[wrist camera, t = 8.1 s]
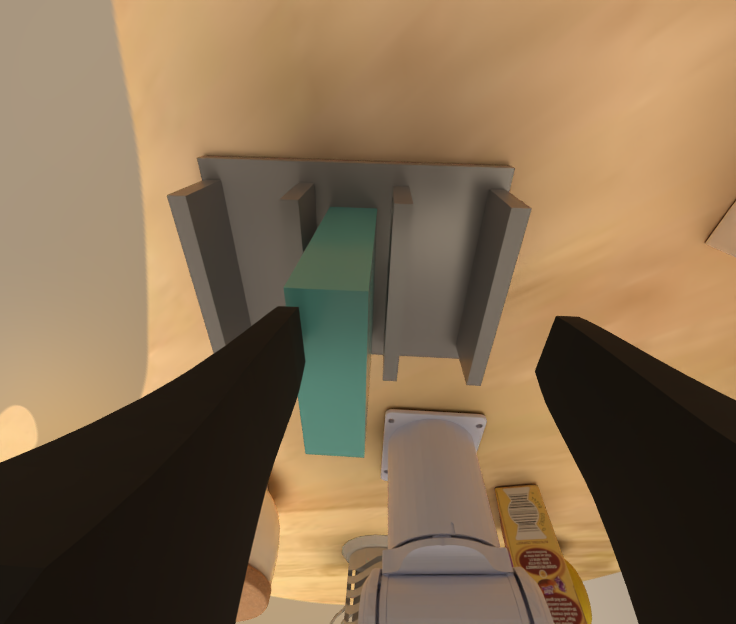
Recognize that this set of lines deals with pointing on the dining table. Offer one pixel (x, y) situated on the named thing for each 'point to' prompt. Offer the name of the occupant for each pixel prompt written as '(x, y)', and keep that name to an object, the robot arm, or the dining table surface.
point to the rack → (393, 246)
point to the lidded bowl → (261, 562)
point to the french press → (360, 569)
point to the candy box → (538, 550)
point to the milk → (725, 233)
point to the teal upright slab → (336, 330)
